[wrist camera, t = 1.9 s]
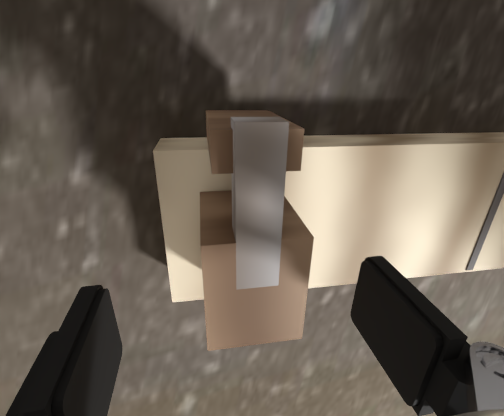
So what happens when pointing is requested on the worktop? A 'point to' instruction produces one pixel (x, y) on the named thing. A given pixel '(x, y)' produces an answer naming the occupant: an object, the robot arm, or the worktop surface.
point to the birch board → (357, 204)
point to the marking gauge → (253, 232)
